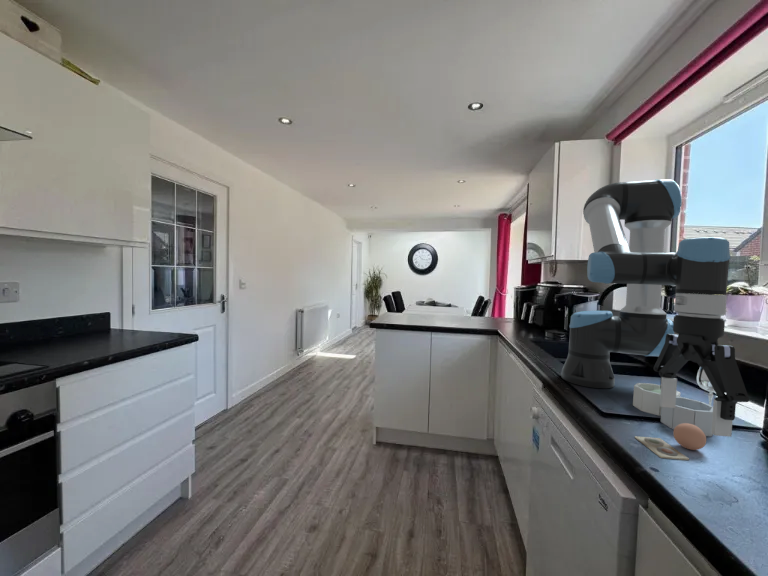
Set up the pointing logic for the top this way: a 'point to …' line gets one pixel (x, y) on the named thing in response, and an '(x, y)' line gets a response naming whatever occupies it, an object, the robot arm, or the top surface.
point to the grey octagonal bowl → (689, 414)
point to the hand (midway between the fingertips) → (691, 419)
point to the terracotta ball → (689, 436)
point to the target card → (661, 448)
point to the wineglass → (705, 383)
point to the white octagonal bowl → (648, 398)
